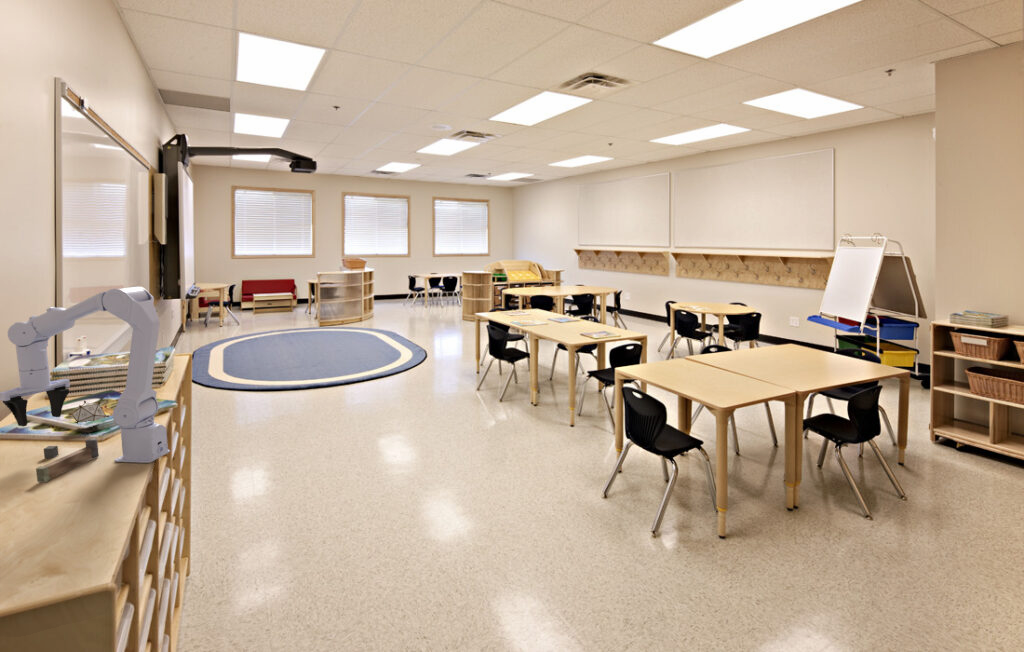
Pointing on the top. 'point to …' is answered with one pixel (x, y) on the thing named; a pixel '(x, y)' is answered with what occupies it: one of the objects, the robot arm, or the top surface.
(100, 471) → the top surface
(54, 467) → the gate
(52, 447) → the block
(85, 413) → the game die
